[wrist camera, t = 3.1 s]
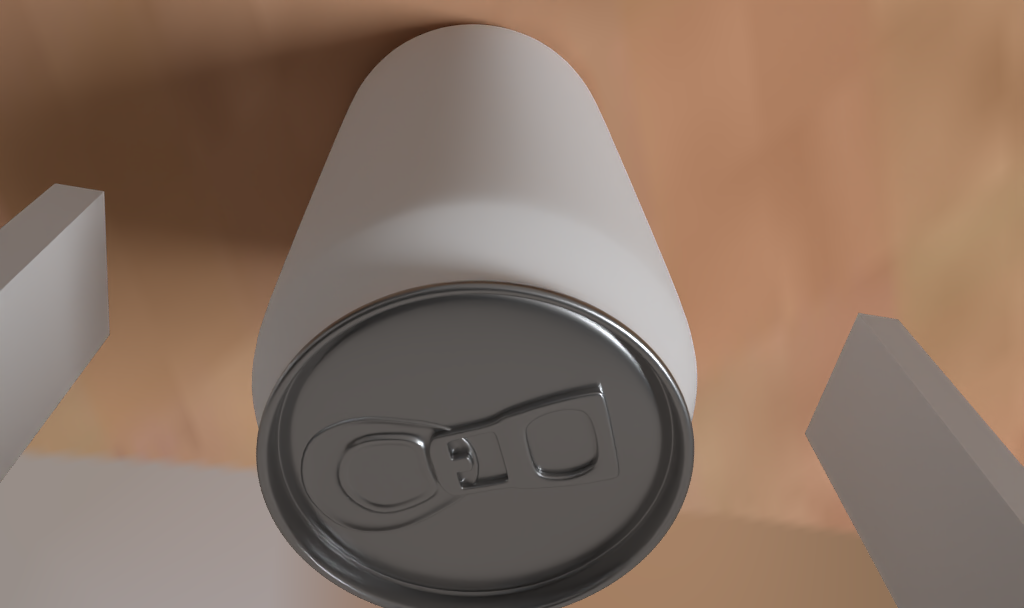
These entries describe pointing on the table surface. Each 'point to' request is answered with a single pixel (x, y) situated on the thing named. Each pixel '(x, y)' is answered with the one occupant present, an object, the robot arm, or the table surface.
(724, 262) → the table surface
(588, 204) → the can
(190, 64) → the table surface
